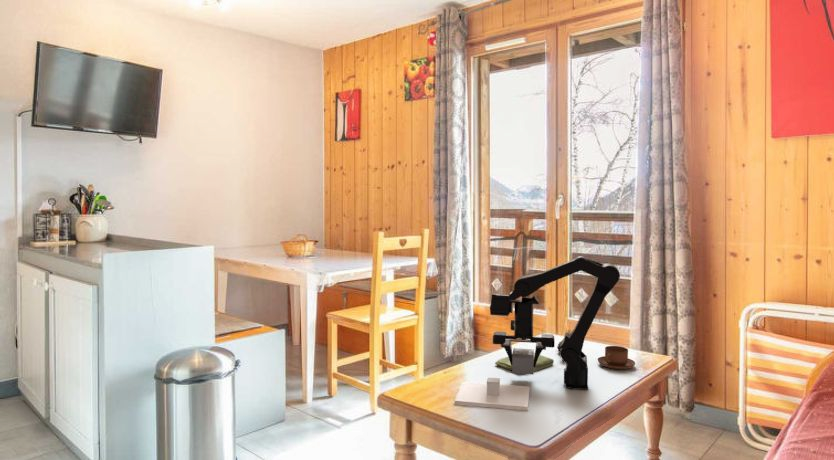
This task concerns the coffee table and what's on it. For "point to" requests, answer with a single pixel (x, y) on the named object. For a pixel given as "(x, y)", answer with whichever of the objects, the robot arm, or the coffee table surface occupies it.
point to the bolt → (559, 349)
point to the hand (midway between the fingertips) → (523, 366)
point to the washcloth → (540, 364)
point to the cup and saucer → (616, 358)
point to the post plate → (493, 395)
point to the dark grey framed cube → (523, 361)
